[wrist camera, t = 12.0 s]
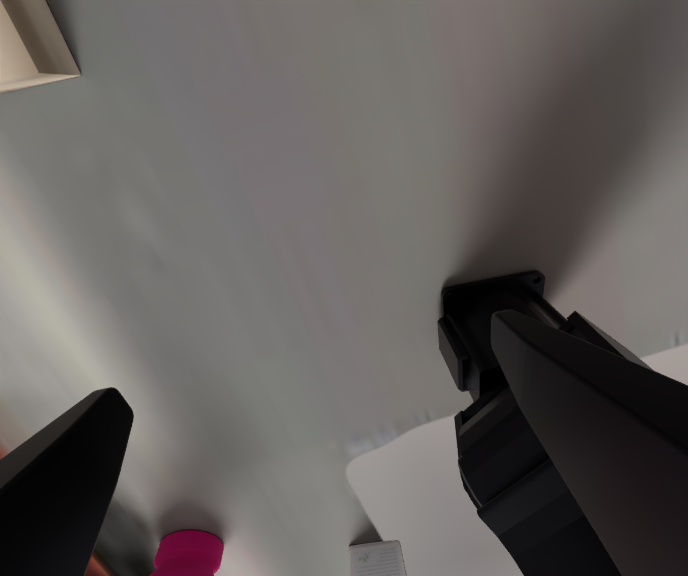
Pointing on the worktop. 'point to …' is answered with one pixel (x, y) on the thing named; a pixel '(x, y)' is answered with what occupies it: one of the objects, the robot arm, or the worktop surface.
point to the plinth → (31, 46)
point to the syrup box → (377, 559)
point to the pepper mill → (188, 554)
